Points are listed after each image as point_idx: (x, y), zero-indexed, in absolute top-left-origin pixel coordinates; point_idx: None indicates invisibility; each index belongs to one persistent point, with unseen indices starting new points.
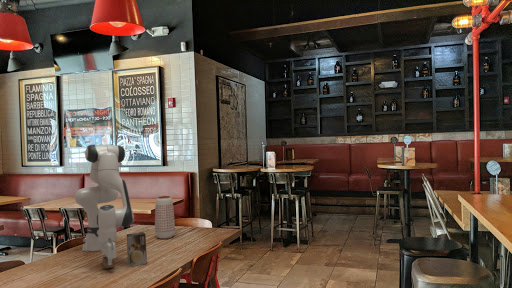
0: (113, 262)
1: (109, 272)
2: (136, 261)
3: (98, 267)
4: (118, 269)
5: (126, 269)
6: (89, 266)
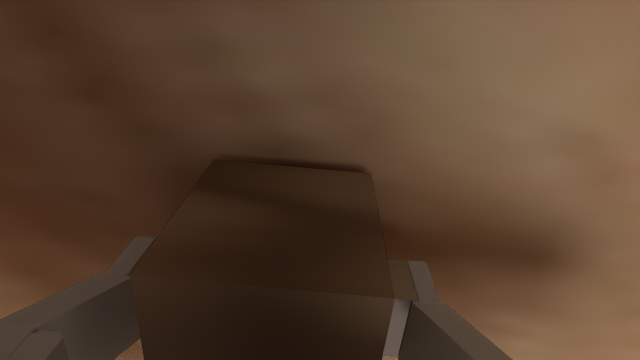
0: (379, 224)
1: (501, 266)
2: None
3: None
4: (485, 126)
5: (631, 9)
6: None
